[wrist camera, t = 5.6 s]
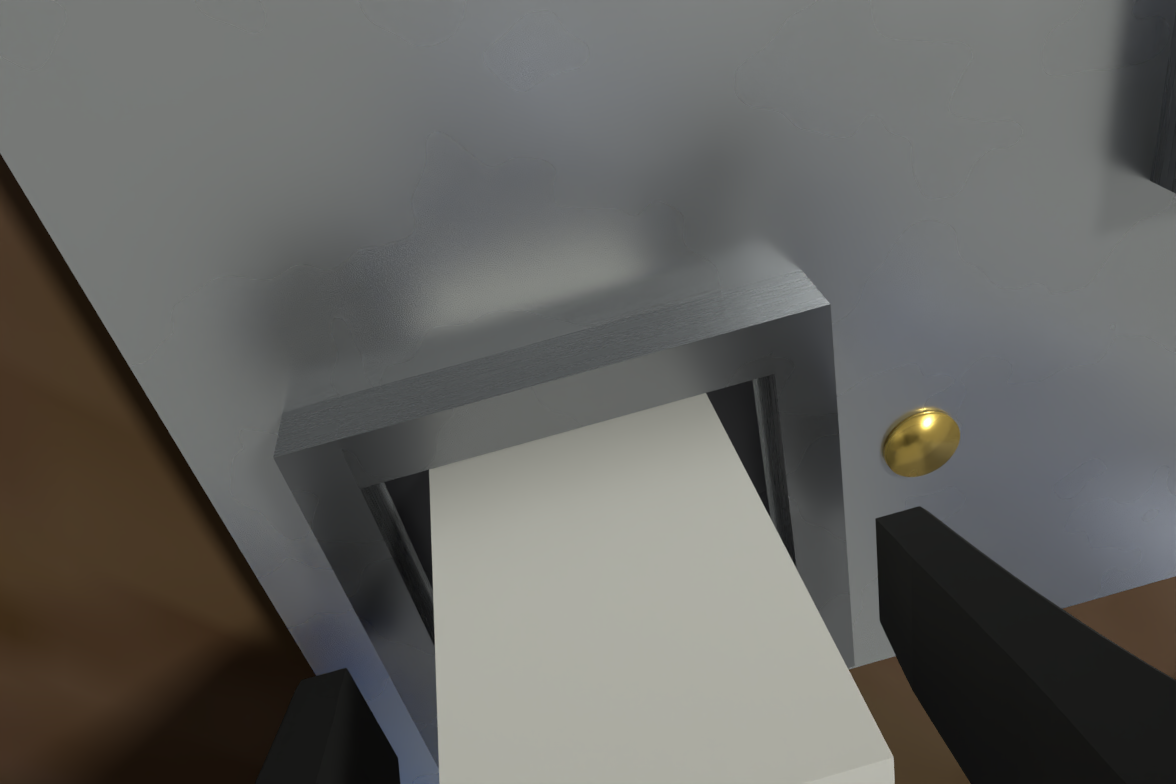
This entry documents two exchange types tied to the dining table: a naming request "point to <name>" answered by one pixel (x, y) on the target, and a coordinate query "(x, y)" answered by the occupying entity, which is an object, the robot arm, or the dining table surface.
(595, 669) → the plug
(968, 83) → the switch plate
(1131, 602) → the dining table surface
